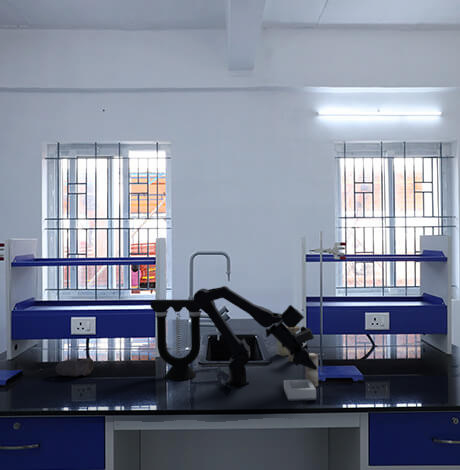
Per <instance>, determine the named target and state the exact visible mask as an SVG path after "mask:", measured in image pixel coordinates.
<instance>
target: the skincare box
mask: <svg viewBox="0 0 460 470" xmlns="http://www.w3.org/2000/svg"><path fill="white" fill-rule="evenodd" d="M276 355H278V356H281V357H284V356H289V355H288V350H287V349H286V348H285V347H284V348H283V347H282V344H281V343H280V342H279V341H278V340H277V339H276Z"/></svg>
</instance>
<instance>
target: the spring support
mask: <svg viewBox="0 0 460 470" xmlns="http://www.w3.org/2000/svg"><path fill="white" fill-rule="evenodd" d="M150 308H151V309H152V310H153V311H154V312H155V314H156V315H155V317H156V329H157V330H156V331H157V332H156V333H157V336H156V340H157V342H156V343H157V346H156V347H157V351H158V354H159V355H160V358H161V359H162V361H164V362H165V363H166V364H168V365H169V366H171V367H170V368H169V369H168V371H167V372H166V374H165V375H164V377H165V379H167V380H170V381H171V380H172V381H185V380H189V379H192V378H195V377H196V375H197V374H196V372H195V371H194V370H193V368H192V367H190V364H192V363H193V362H195V361H196V359H197V358H198V356H199V354H200V350H201V314H202V311H203V310H201V309H200V308H199V307H198V306H197V305H196V304H195V302H194V300H193V299H154V300H151V302H150ZM170 308H172V309H173V311H174V312H175V314H176V315H177V316H176V317H175V334H176V335H175V336H176V337H175V344H176V345H175V346H176V350H175V351H176V356H173V354H172V353H170V352H169V350H168V348H167V329H166V328H167V327H166V326H167V325H166V322H167V321H166V319H167V317H168V313H169V309H170ZM183 308H185V309H186V310H187V311H188V313H189V314H190V315H189V317H190V322H191V324H190V326H191V327H190V328H191V329H190V331H191V333H190V335H191V336H190V337H191V348H190V351H189V353H187V354H186V355H185V356H181V355H182V349H181V348H182V347H181V346H182V345H181V344H182V340H181V339H182V338H181V337H182V336H181V335H182V329H181V326H182V325H181V324H182V321H181V320H180V318H181V317H182V316H181V315H180V312H181V311H182V310H183ZM178 353H179V354H178Z"/></svg>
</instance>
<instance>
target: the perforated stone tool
mask: <svg viewBox="0 0 460 470" xmlns="http://www.w3.org/2000/svg"><path fill="white" fill-rule="evenodd" d="M93 370H94V360H93V358H89V357H88V358H84V357H82V358H80V357H78V358H77V357H76V358H69V359H65V360H61V361H60V362H59V363H57V364H56V367H55V371H56V374H58V375H60V376H64V377H65V376H66V377H67V376H68V377H74V378H75V377H79V376H82V377H85V376H87V375H90V374H91V373H92V372H93Z"/></svg>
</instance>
